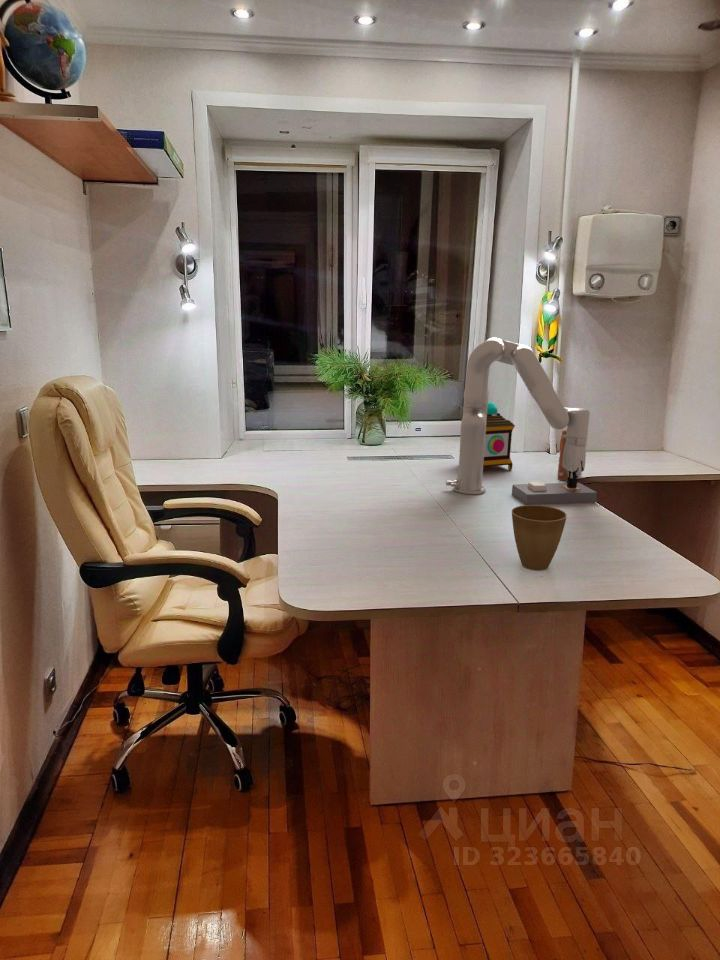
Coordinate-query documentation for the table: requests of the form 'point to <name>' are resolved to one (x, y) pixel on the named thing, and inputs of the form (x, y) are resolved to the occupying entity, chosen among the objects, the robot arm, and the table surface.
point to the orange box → (562, 471)
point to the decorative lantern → (497, 439)
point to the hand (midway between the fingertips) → (571, 487)
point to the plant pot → (537, 534)
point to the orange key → (570, 488)
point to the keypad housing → (554, 494)
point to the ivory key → (537, 486)
